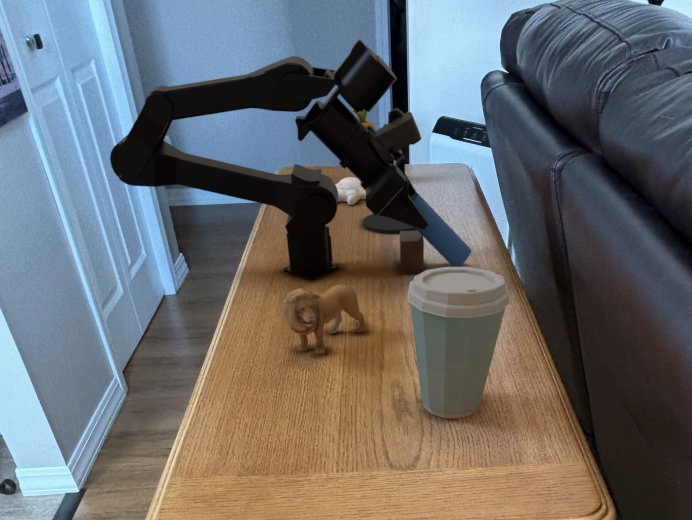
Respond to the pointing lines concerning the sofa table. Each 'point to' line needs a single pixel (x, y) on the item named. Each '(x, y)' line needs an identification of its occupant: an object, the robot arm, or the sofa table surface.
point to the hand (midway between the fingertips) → (424, 217)
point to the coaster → (385, 224)
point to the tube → (441, 234)
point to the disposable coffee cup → (455, 335)
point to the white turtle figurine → (350, 190)
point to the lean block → (411, 252)
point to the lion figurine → (320, 313)
